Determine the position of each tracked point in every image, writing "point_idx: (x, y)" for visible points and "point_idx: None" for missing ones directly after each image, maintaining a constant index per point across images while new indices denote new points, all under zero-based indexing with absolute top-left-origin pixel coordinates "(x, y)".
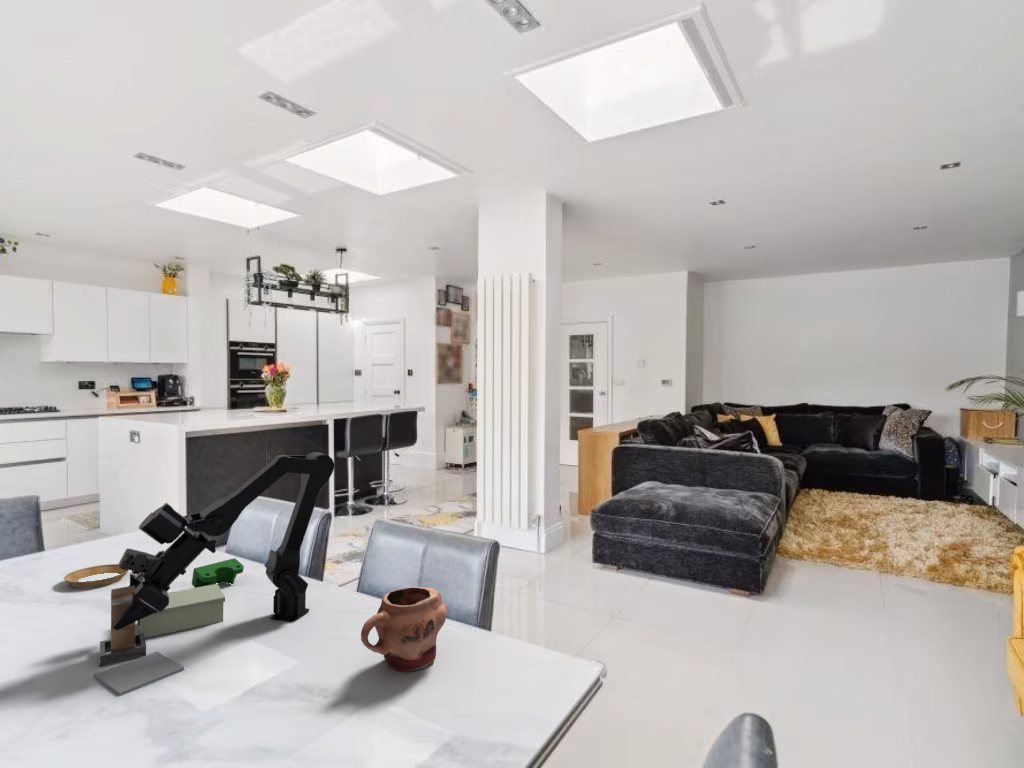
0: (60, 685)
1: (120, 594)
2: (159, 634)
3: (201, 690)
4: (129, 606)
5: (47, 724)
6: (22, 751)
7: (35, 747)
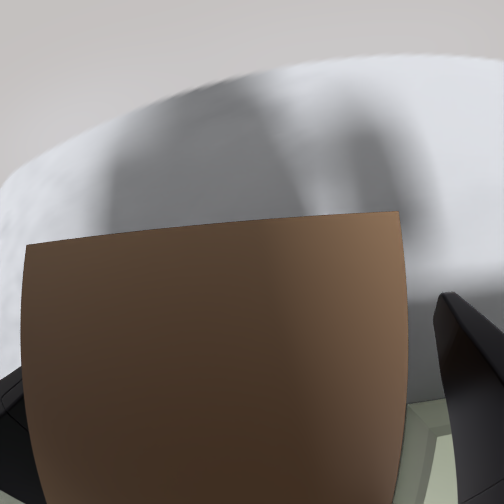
0: (162, 180)
1: (29, 363)
2: (400, 462)
3: None
4: (4, 391)
5: (35, 198)
6: (8, 186)
7: (5, 199)
